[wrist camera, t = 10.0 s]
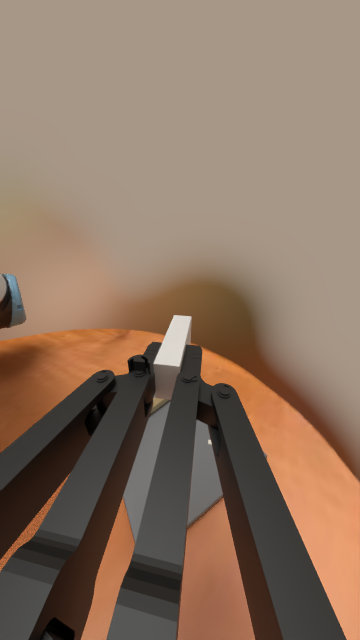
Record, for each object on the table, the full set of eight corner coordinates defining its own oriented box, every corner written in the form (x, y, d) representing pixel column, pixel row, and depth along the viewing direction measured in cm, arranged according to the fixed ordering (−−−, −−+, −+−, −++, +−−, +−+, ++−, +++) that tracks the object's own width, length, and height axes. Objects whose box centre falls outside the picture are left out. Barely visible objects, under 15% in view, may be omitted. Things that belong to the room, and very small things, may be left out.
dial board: (97, 396, 40) (96, 391, 39) (179, 364, 49) (179, 360, 48) (141, 568, 20) (140, 564, 19) (265, 459, 29) (267, 454, 28)
